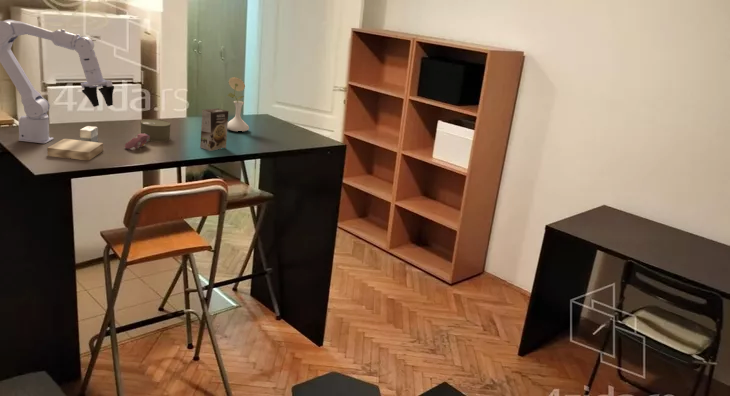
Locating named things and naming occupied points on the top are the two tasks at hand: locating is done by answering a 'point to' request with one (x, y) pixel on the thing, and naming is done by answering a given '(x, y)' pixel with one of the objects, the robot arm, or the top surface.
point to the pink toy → (137, 141)
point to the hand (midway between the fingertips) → (103, 105)
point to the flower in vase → (237, 106)
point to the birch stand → (75, 149)
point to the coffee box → (214, 129)
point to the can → (156, 129)
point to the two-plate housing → (89, 134)
